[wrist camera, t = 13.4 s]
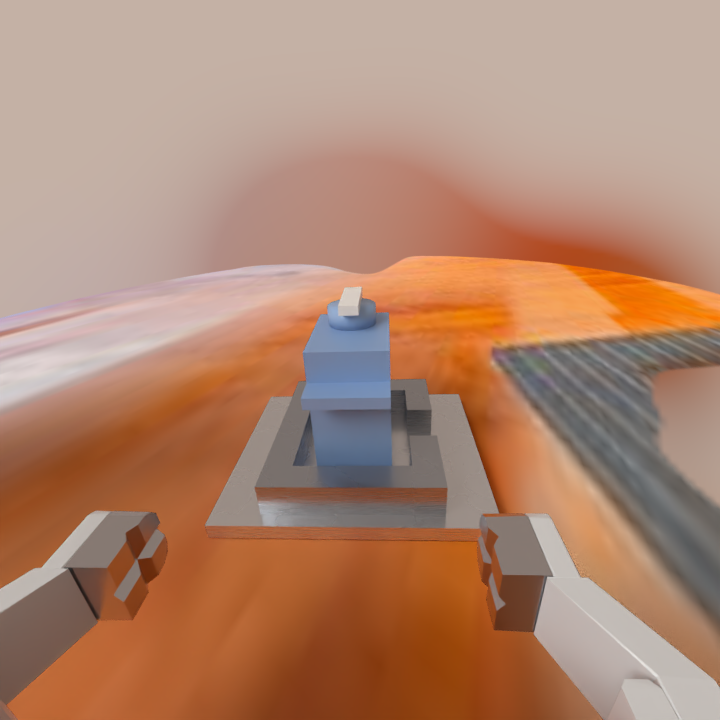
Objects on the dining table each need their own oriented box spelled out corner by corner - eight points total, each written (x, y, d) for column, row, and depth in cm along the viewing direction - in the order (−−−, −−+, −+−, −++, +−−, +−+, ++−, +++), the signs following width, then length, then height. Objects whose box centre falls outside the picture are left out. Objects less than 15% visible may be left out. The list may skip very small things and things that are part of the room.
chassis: (208, 537, 19) (196, 498, 18) (272, 405, 30) (267, 377, 29) (502, 541, 18) (508, 500, 17) (457, 403, 29) (459, 373, 28)
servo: (314, 498, 20) (291, 333, 16) (333, 409, 27) (321, 283, 23) (392, 498, 19) (389, 331, 16) (390, 408, 27) (388, 280, 23)
